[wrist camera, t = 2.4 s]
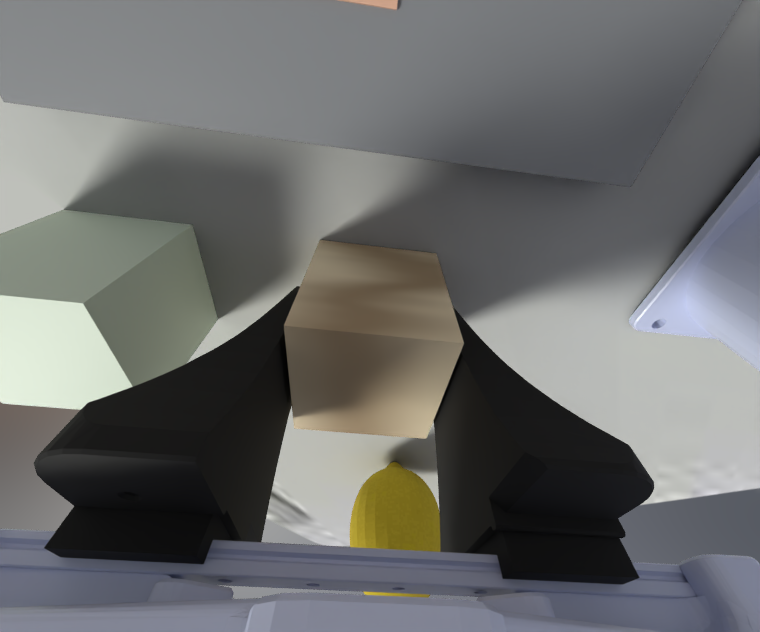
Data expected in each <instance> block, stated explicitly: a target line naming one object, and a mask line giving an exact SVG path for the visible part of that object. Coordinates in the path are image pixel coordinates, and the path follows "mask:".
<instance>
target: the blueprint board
mask: <svg viewBox="0 0 760 632" xmlns="http://www.w3.org/2000/svg"><path fill="white" fill-rule="evenodd" d="M742 1H743V0H0V96H1V98H2V99H3V101H4V102H7V103H14V104H22V105H29V106H36V107H44V108H51V109H58V110H66V111H73V112H81V113H88V114H95V115H103V116H110V117H117V118H125V119H132V120H139V121H147V122H154V123H162V124H169V125H176V126H184V127H191V128H198V129H206V130H213V131H220V132H228V133H235V134H243V135H250V136H257V137H265V138H272V139H279V140H287V141H294V142H301V143H309V144H316V145H324V146H331V147H338V148H346V149H353V150H360V151H368V152H375V153H382V154H390V155H397V156H405V157H412V158H419V159H427V160H434V161H441V162H449V163H456V164H464V165H471V166H478V167H486V168H493V169H500V170H508V171H515V172H522V173H530V174H537V175H545V176H552V177H559V178H567V179H574V180H581V181H589V182H596V183H603V184H611V185H618V186H626V187H631V186H632V184H633V183H634V181H635V179H636V178H637V176H638V174H639V173H640V171H641V169H642V168H643V166H644V164H645V163H646V161H647V159H648V158H649V156H650V154H651V153H652V151H653V149H654V148H655V146H656V144H657V143H658V141H659V139H660V138H661V136H662V134H663V133H664V131H665V129H666V128H667V126H668V124H669V123H670V121H671V119H672V118H673V116H674V114H675V113H676V111H677V109H678V108H679V106H680V104H681V103H682V101H683V99H684V98H685V96H686V94H687V93H688V91H689V89H690V88H691V86H692V84H693V83H694V81H695V79H696V78H697V76H698V74H699V73H700V71H701V69H702V68H703V66H704V64H705V63H706V61H707V59H708V58H709V56H710V54H711V53H712V51H713V49H714V48H715V46H716V44H717V43H718V41H719V39H720V37H721V36H722V34H723V32H724V31H725V29H726V27H727V26H728V24H729V22H730V21H731V19H732V17H733V16H734V14H735V12H736V11H737V9H738V7H739V6H740V4H741V2H742Z"/></svg>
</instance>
